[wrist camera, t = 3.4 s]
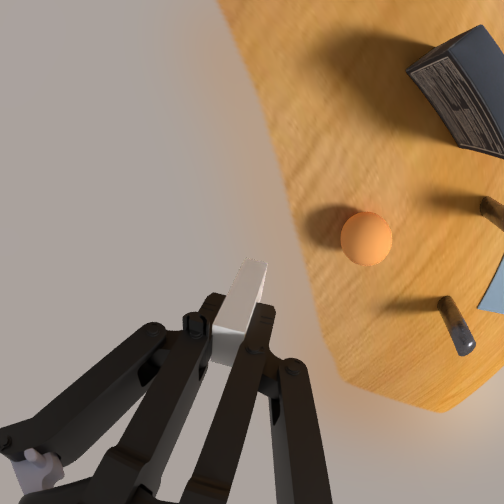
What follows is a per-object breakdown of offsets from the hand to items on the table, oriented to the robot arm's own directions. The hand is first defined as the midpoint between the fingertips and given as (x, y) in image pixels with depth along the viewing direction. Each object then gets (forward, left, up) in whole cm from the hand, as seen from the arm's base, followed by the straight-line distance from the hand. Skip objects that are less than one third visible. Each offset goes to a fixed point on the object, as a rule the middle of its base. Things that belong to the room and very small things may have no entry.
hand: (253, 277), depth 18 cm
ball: (0, +10, -11) cm, 14 cm away
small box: (-18, +17, -14) cm, 28 cm away
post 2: (-8, +26, -14) cm, 30 cm away
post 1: (+7, +26, -14) cm, 30 cm away
